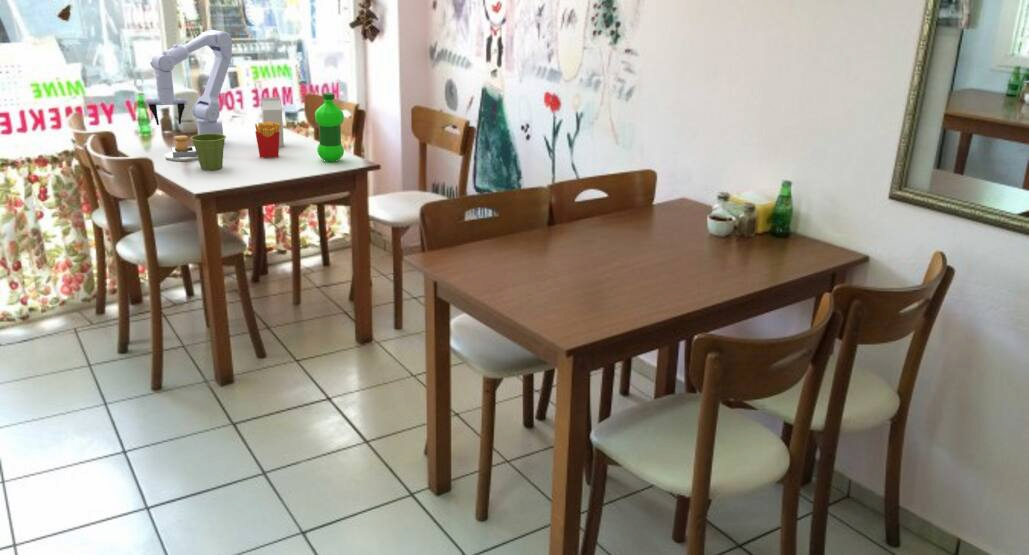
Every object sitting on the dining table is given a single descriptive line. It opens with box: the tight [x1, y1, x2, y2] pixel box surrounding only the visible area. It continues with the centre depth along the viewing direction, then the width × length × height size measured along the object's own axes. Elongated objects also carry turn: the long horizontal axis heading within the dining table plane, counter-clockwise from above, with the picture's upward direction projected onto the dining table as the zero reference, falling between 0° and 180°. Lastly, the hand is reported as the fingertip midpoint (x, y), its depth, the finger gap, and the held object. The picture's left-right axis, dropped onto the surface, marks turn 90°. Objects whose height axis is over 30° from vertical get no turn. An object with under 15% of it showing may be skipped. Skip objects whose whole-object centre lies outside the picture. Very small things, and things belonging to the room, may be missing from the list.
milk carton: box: [260, 97, 285, 148], centre depth 330 cm, size 7×7×19 cm
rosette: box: [165, 145, 199, 163], centre depth 310 cm, size 20×13×3 cm, turn 113°
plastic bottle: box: [314, 92, 345, 162], centre depth 311 cm, size 10×10×25 cm
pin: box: [173, 135, 189, 152], centre depth 308 cm, size 5×5×7 cm
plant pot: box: [190, 134, 227, 171], centre depth 295 cm, size 12×12×11 cm
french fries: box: [254, 122, 281, 158], centre depth 314 cm, size 9×4×13 cm, turn 108°
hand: (168, 124), depth 315 cm, fingers open, 7 cm apart
